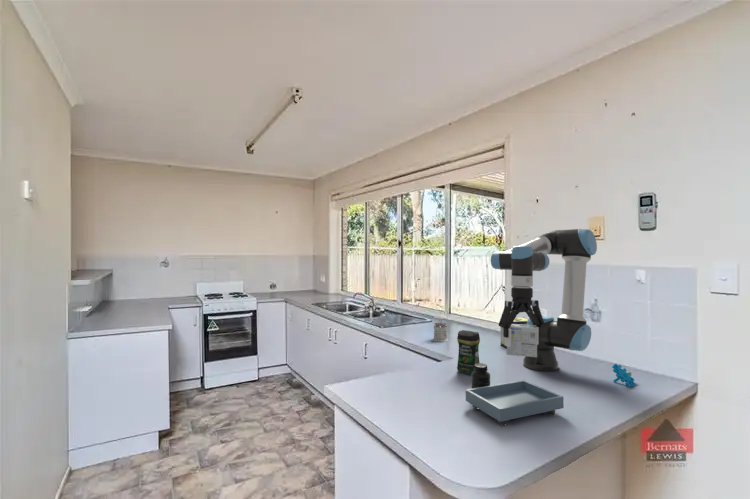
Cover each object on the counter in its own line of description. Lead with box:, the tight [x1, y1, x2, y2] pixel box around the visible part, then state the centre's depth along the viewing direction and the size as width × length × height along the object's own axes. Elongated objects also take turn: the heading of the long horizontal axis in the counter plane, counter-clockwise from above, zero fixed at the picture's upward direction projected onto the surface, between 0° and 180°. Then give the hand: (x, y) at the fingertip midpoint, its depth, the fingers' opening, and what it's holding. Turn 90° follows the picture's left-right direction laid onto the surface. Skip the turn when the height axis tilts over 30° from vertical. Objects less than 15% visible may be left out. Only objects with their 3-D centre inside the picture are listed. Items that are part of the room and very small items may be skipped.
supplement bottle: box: [470, 362, 491, 389], centre depth 145 cm, size 7×7×12 cm
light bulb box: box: [506, 324, 537, 357], centre depth 145 cm, size 11×7×11 cm, turn 70°
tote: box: [465, 379, 564, 426], centre depth 132 cm, size 18×26×6 cm
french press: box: [432, 298, 449, 343], centre depth 238 cm, size 10×12×25 cm
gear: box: [611, 363, 636, 388], centre depth 159 cm, size 11×6×10 cm
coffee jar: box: [456, 329, 481, 375], centre depth 174 cm, size 10×8×19 cm
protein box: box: [500, 316, 529, 349], centre depth 218 cm, size 10×16×16 cm
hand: (521, 345), depth 145 cm, fingers closed on light bulb box, 12 cm apart
